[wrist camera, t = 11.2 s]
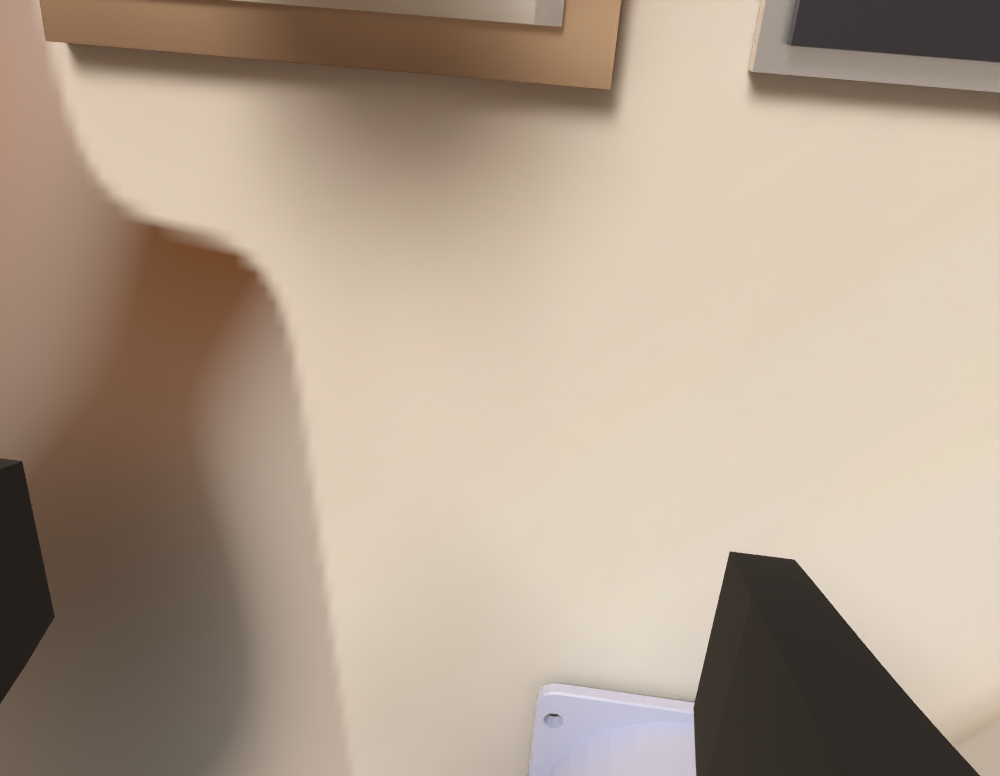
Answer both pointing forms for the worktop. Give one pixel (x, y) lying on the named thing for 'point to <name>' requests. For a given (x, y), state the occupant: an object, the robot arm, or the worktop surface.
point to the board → (365, 34)
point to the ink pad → (882, 41)
